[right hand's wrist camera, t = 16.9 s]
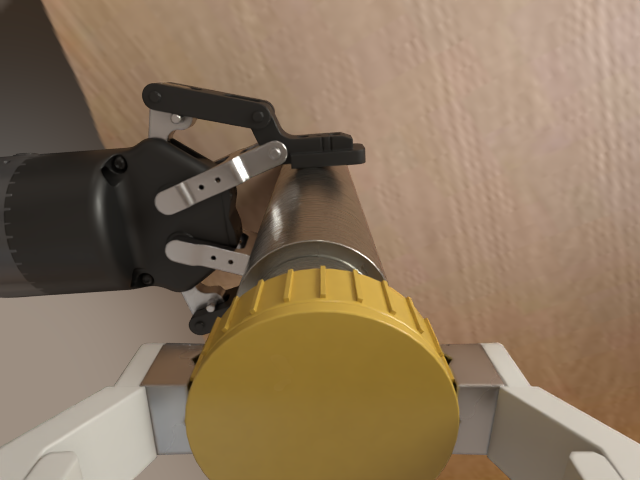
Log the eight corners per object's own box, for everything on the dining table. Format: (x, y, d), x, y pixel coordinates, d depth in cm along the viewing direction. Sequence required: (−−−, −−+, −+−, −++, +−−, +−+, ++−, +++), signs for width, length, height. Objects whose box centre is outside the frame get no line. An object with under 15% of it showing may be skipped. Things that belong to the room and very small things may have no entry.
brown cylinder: (306, 224, 31) (294, 442, 13) (265, 170, 29) (185, 327, 11) (362, 187, 30) (437, 364, 12) (323, 129, 28) (338, 227, 10)
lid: (408, 231, 9) (429, 269, 7) (460, 430, 11) (487, 497, 9) (165, 303, 10) (131, 353, 8) (253, 480, 12) (242, 551, 10)
